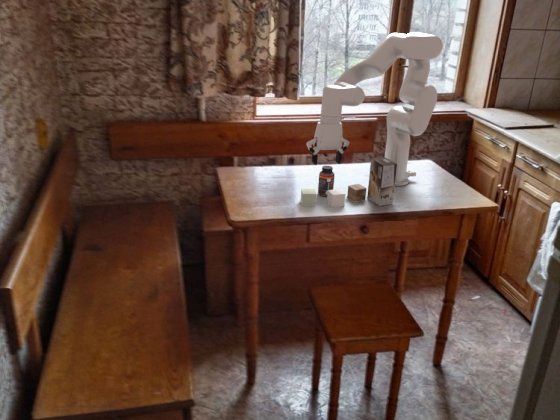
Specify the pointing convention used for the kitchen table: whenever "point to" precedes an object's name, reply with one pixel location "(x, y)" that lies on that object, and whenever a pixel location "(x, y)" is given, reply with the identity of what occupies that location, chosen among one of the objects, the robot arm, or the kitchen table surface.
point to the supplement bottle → (325, 180)
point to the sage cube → (308, 197)
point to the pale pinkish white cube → (336, 198)
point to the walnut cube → (356, 192)
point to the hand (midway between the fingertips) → (326, 163)
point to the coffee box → (382, 181)
